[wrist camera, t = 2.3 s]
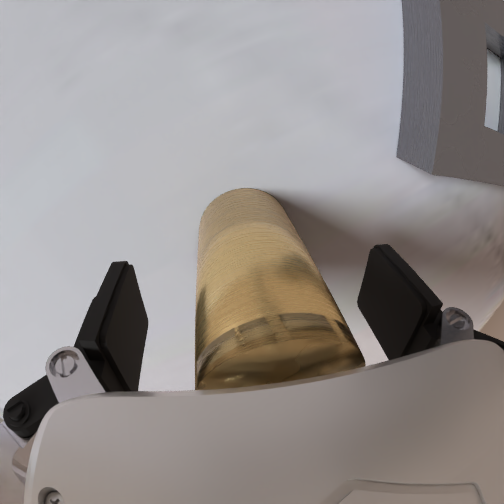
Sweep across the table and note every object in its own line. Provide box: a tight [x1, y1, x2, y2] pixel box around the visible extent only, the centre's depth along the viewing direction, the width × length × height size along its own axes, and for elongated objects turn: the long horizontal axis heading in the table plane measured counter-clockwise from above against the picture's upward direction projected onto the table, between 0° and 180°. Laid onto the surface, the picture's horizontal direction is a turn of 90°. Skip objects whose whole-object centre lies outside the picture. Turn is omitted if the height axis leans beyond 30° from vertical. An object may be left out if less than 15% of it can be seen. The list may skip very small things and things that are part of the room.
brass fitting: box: [195, 188, 365, 390], centre depth 10 cm, size 4×4×9 cm
